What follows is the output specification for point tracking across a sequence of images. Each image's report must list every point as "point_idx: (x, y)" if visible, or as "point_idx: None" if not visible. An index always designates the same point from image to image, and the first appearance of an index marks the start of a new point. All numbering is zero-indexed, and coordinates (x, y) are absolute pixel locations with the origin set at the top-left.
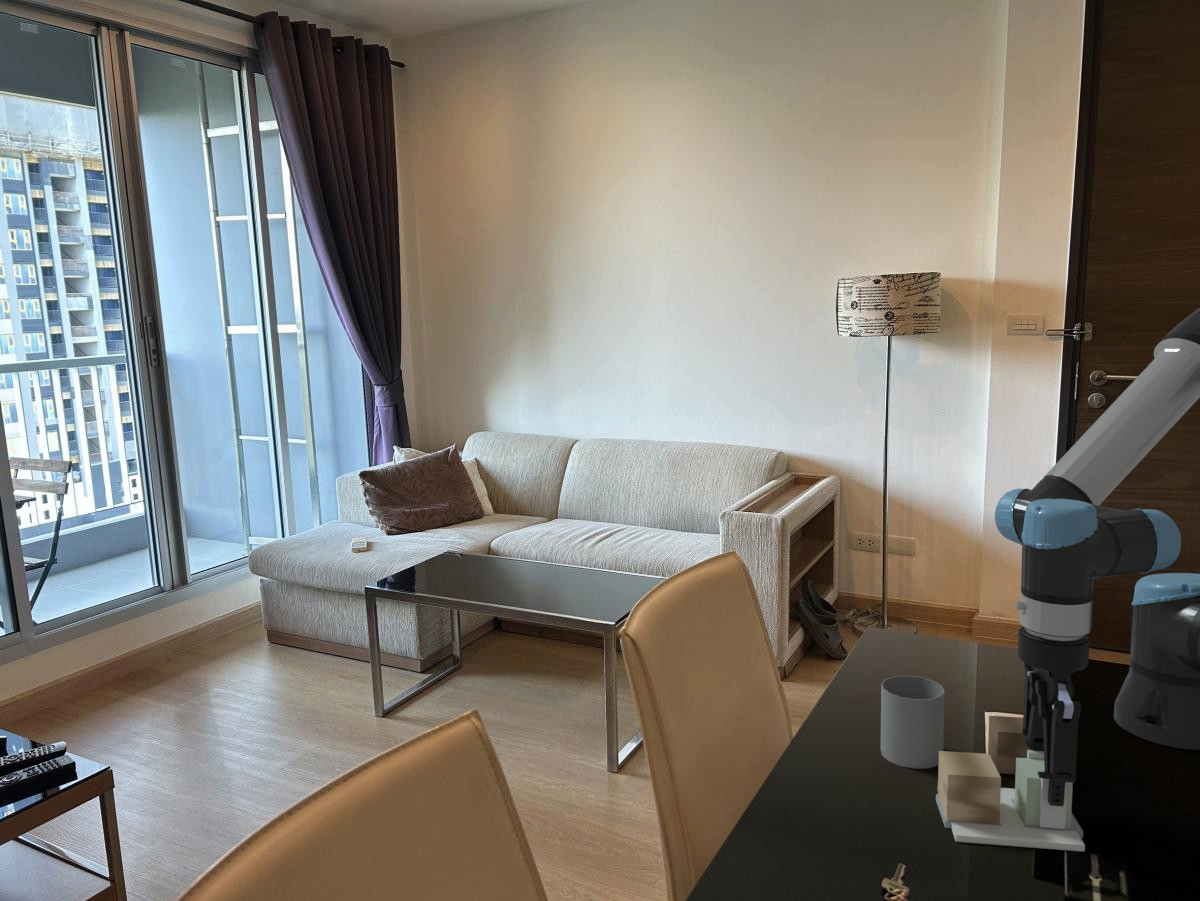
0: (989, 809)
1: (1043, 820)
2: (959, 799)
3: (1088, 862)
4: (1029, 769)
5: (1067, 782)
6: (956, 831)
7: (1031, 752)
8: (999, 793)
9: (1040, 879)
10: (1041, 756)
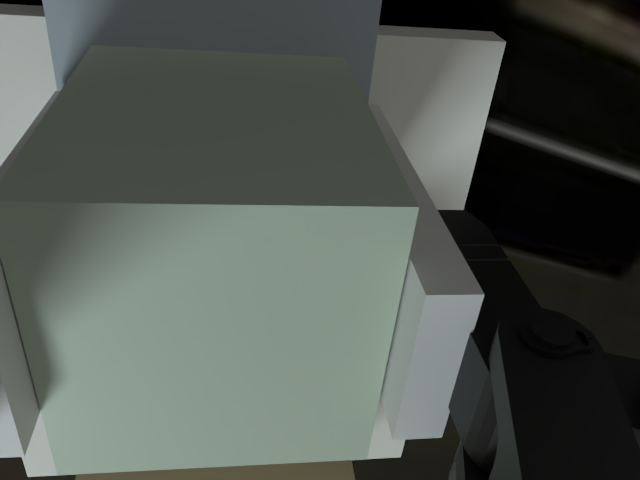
0: None
1: None
2: None
3: (573, 46)
4: (241, 433)
5: (467, 265)
6: (378, 455)
7: (13, 442)
8: (350, 467)
9: (633, 261)
10: (15, 359)
